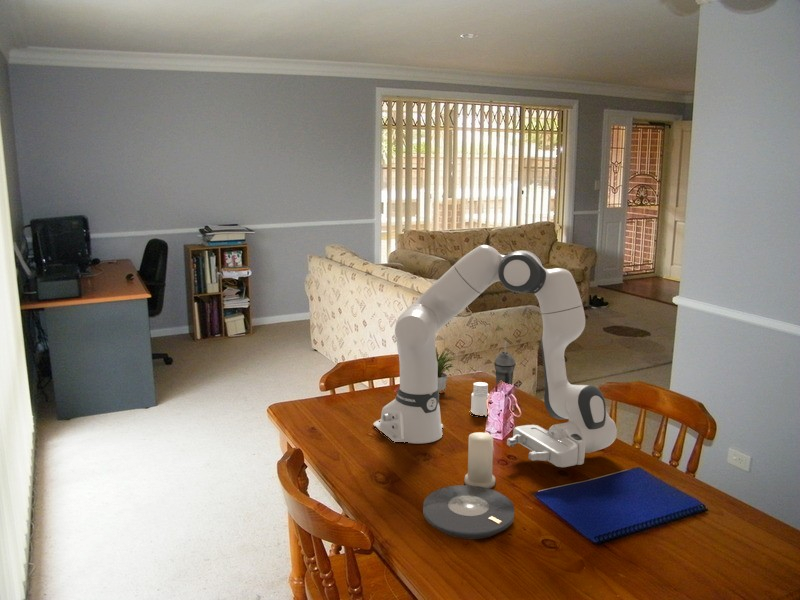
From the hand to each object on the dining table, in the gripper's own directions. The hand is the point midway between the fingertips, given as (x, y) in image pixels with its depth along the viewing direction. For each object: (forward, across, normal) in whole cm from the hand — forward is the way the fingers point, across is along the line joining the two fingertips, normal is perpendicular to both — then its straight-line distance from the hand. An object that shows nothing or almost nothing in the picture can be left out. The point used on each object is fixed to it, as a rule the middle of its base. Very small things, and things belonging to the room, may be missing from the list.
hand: (518, 449), depth 165 cm
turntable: (+23, +14, +5) cm, 28 cm away
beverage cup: (-31, -53, +7) cm, 62 cm away
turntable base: (+23, +14, +6) cm, 28 cm away
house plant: (-11, -65, +7) cm, 67 cm away
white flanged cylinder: (+12, 0, +6) cm, 13 cm away
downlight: (-14, -41, +7) cm, 44 cm away
